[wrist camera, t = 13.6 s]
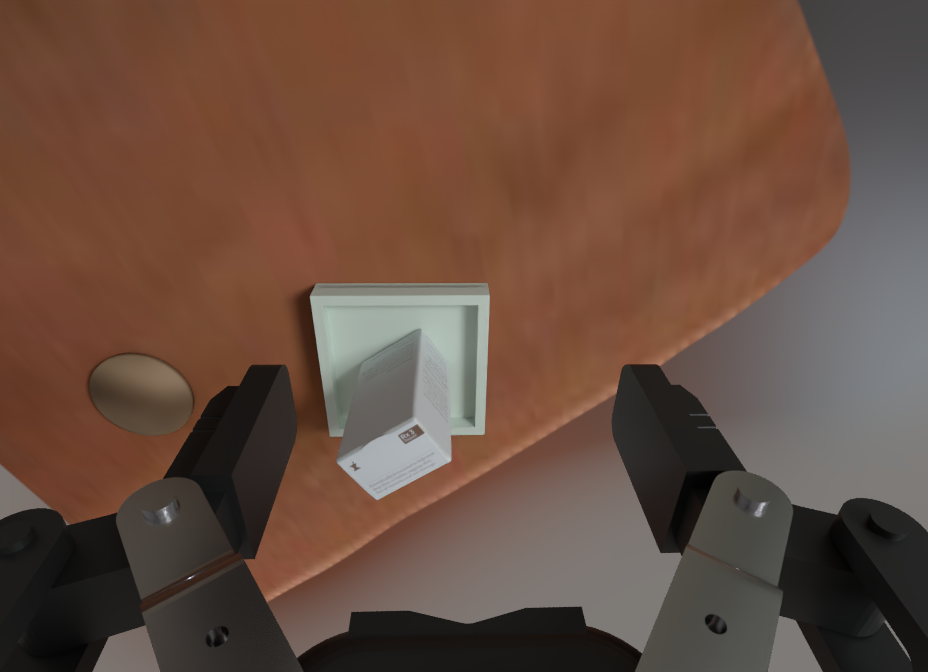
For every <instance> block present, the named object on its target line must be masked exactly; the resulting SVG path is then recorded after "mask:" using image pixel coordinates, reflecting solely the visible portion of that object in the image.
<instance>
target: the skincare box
mask: <svg viewBox="0 0 928 672" xmlns="http://www.w3.org/2000/svg"><path fill="white" fill-rule="evenodd" d="M450 461H451V423H450V376H449V364H448V363H447V361H446V360H445V359H444V357H443V356H442V354H441V353H440V352H439V350H438V349H437V348H436V347H435V345H434V344H433V343H432V341H431V340H430V339H429V338H428V336H427V335H426V334H425V332H424V331H423V330H422V329H418V330H417V331H415V332H413V333H412V334H410V335H408V336H407V337H405V338H403V339H402V340H400V341H398V342H396V343H395V344H393V345H391V346H390V347H388V348H386V349H385V350H383V351H381V352H380V353H378V354H376V355H374V356H373V357H371V358H369V359H368V360H366V361H364V362H363V363H362V364H361V368H360V371H359V375H358V379H357V383H356V387H355V390H354V394H353V398H352V402H351V406H350V410H349V414H348V418H347V421H346V425H345V429H344V433H343V436H342V440H341V444H340V448H339V452H338V456H337V460H336V462H337V463H338V464H339V465H340V466H341V467H342V468H343V469H344V470H345V471H346V472H347V473H348V474H349V475H350V476H351V477H352V478H353V479H354V480H355V481H356V482H357V483H358V484H359V485H360V486H361V487H362V488H363V489H364V490H365V491H367V492H368V493H369V494H370V495H371V496H372V497H374V498H375V499H376V500H378V499H380V498H382V497H384V496H386V495H388V494H390V493H391V492H393V491H395V490H397V489H399V488H401V487H403V486H405V485H406V484H408V483H410V482H412V481H414V480H416V479H418V478H420V477H421V476H423V475H425V474H427V473H429V472H431V471H433V470H435V469H437V468H439V467H441V466H442V465H444V464H446V463H448V462H450Z"/></svg>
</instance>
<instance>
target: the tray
mask: <svg viewBox="0 0 928 672" xmlns="http://www.w3.org/2000/svg"><path fill="white" fill-rule="evenodd" d="M310 301H311V308H312V315H313V322H314V329H315V336H316V343H317V350H318V357H319V364H320V371H321V377H322V384H323V391H324V398H325V405H326V412H327V419H328V426H329V433H330V437H333V436H343V433H344V429H345V425H346V421H347V418H348V414H349V410H350V406H351V402H352V398H353V394H354V390H355V387H356V383H357V379H358V375H359V371H360V368H361V364H362V363H363V362H364V361H366V360H368V359H369V358H371V357H373V356H374V355H376V354H378V353H380V352H381V351H383V350H385V349H386V348H388V347H390V346H391V345H393V344H395V343H396V342H398V341H400V340H402V339H403V338H405V337H407V336H408V335H410V334H412V333H413V332H415V331H417V330H418V329H422V330H423V331H424V332H425V334H426V335H427V336H428V338H429V339H430V340H431V341H432V343H433V344H434V345H435V347H436V348H437V349H438V350H439V352H440V353H441V354H442V356H443V357H444V359H445V360H446V361H447V363H448V364H449V376H450V423H451V435H484V433H485V407H486V380H487V354H488V328H489V301H490V294H489V288H488V283H343V284H316V285H315V287H314V289H313V291H312V293H311V295H310Z"/></svg>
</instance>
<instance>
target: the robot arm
mask: <svg viewBox="0 0 928 672" xmlns="http://www.w3.org/2000/svg"><path fill="white" fill-rule="evenodd" d="M707 414H708V413H707V412H706V410H705V409H704V407H703V406H702V404H701V403H700V402H699V400H698V398H696V397H695V396H694V395H693V394H691V393H690V392H688V391H687V390H686V389H685V388H683V387H682V386H681V385H671V384H670V382H669V381H668V379H667V378H666V376H665V374H664V373H663V371H662V370H661V368H660V367H659V366H658V365H656V364H627V365H624V367H623V368H622V371H621V375H620V380H619V385H618V390H617V395H616V400H615V404H614V409H613V414H612V432H613V437H614V441H615V443H616V446H617V448H618V450H619V453H620V455H621V458H622V460H623V463H624V465H625V468H626V470H627V472H628V475H629V477H630V480H631V482H632V485H633V487H634V489H635V492H636V494H637V497H638V499H639V502H640V504H641V506H642V509H643V511H644V514H645V516H646V518H647V521H648V523H649V526H650V528H651V531H652V533H653V536H654V538H655V540H656V543H657V545H658V548H659V550H660V553H681V556H682V558H681V560H680V562H679V565H678V568H677V570H676V572H675V575H674V577H673V580H672V582H671V584H670V587H669V589H668V592H667V594H666V597H665V599H664V602H663V604H662V607H661V609H660V611H659V614H658V617H657V619H656V621H655V624H654V626H653V629H652V631H651V634H650V637H649V639H648V641H647V644H646V646H645V648H644V651H643V653H641V652H639V651H638V650H637V649H635V648H634V647H632V646H631V645H629V644H628V643H626V642H624V641H623V640H621V639H619V638H617V637H615V636H613V635H611V634H609V633H607V632H604V631H601V630H599V629H596V628H593V627H588V626H586V623H585V619H584V615H583V611H582V607H552V608H551V607H548V608H524V609H521V610H517V611H514V612H510V613H507V614H504V615H500V616H497V617H494V618H490V619H486V620H483V621H479V622H476V623H471V624H464V623H459V622H455V621H451V620H446V619H442V618H437V617H433V616H429V615H425V614H420V613H416V612H412V611H380V612H379V611H376V612H352V613H351V619H350V625H349V631H348V632H345V633H341V634H339V635H336V636H334V637H331V638H329V639H326V640H324V641H323V642H321V643H319V644H317V645H315V646H314V647H312V648H311V649H309V650H308V651H306V652H305V653H303V654H302V655H300V656H299V657H298V658H296V656H295V654H294V652H293V651H292V649H291V647H290V645H289V643H288V641H287V639H286V637H285V636H284V634H283V632H282V630H281V628H280V626H279V624H278V622H277V621H276V619H275V617H274V615H273V613H272V611H271V609H270V608H269V606H268V604H267V602H266V600H265V598H264V596H263V594H262V593H261V591H260V589H259V587H258V585H257V583H256V581H255V579H254V578H253V576H252V574H251V572H250V570H249V568H248V566H247V564H246V563H245V561H244V559H255V556H256V554H257V551H258V548H259V545H260V542H261V539H262V536H263V533H264V530H265V527H266V524H267V521H268V519H269V516H270V513H271V510H272V507H273V504H274V501H275V498H276V495H277V492H278V489H279V486H280V484H281V481H282V478H283V475H284V472H285V469H286V466H287V463H288V460H289V457H290V454H291V451H292V448H293V446H294V442H295V438H296V431H297V419H296V412H295V406H294V400H293V395H292V389H291V383H290V378H289V373H288V369H287V367H286V365H251V366H250V367H249V369H248V371H247V373H246V375H245V376H244V378H243V380H242V382H241V384H240V386H227V387H226V388H225V389H224V390H222V391H221V392H220V393H219V394H217V395H216V396H215V397H213V398H212V399H211V400H210V401H209V403H208V405H207V406H206V408H205V410H204V411H203V413H202V415H201V419H199V420H198V421H197V423H196V425H195V426H194V428H193V432H191V433H190V435H189V436H188V438H187V440H186V441H185V443H184V445H183V446H182V448H181V450H180V451H179V453H178V455H177V456H176V458H175V460H174V461H173V463H172V465H171V466H170V468H169V470H168V471H167V473H166V475H165V476H164V478H163V479H161V480H158V481H155V482H152V483H150V484H148V485H146V486H144V487H142V488H140V489H139V490H137V491H136V492H134V493H133V494H132V495H130V496H129V497H128V498H127V499H126V500H125V502H124V503H123V504H122V505H121V507H120V509H119V510H118V512H117V513H114V514H111V515H107V516H103V517H99V518H95V519H91V520H87V521H83V522H79V523H75V524H71V525H66V523H65V521H64V519H63V517H62V516H61V515H60V514H59V513H58V512H57V511H54V510H51V509H46V508H41V509H40V508H37V509H30V510H25V511H21V512H18V513H15V514H12V515H10V516H8V517H5V518H3V519H1V520H0V672H92V671H93V669H94V667H95V665H96V663H97V661H98V658H99V656H100V654H101V652H102V650H103V648H104V646H105V644H106V642H107V639H108V637H110V636H112V635H116V634H119V633H122V632H125V631H129V630H131V629H135V628H138V627H141V626H144V625H146V628H147V631H148V634H149V637H150V640H151V643H152V647H153V650H154V653H155V656H156V659H157V662H158V665H159V668H160V672H768V668H769V663H770V658H771V653H772V647H773V643H774V638H775V632H776V628H777V623H778V618H779V616H783V617H787V618H790V619H794V620H796V622H797V623H798V625H799V627H800V629H801V631H802V633H803V635H804V637H805V639H806V641H807V643H808V644H809V646H810V648H811V650H812V652H813V654H814V656H815V658H816V660H817V661H818V663H819V665H820V667H821V669H822V671H823V672H928V532H927V531H926V530H925V529H924V528H923V527H922V526H921V525H920V524H919V523H918V522H917V521H915V519H913V518H912V517H910V516H909V515H908V514H906V513H904V512H902V511H901V510H899V509H897V508H895V507H893V506H891V505H889V504H886V503H883V502H880V501H877V500H873V499H867V498H855V499H850V500H848V501H846V502H845V503H844V504H843V506H842V507H841V509H840V511H839V513H838V515H835V514H831V513H827V512H822V511H818V510H814V509H809V508H805V507H800V506H797V505H793V504H791V501H790V500H789V498H788V497H787V495H786V494H785V493H784V492H783V491H782V490H781V489H780V488H779V487H778V486H776V485H775V484H773V483H772V482H771V481H769V480H767V479H765V478H763V477H761V476H759V475H756V474H753V473H750V472H747V471H746V470H745V468H744V467H743V465H742V464H741V462H740V461H739V459H738V458H737V456H736V455H735V453H734V452H733V450H732V449H731V447H730V446H729V445H728V443H727V442H726V440H725V439H724V437H723V436H722V434H721V433H720V431H719V430H718V429H716V425H715V424H714V422H713V421H712V419H711V418H710V416H708V415H707ZM885 620H887V622H888V623H889V625H890V626H891V628H892V629H893V631H894V632H895V634H896V635H897V637H898V638H899V640H900V641H901V642H902V644H903V645H904V647H905V649H906V650H907V652H908V654H909V656H910V659H911V661H910V659H909V658H908V657H907V655H906V654H905V652H904V651H903V650H902V648H901V646H900V645H899V643H898V642H897V640H896V639H895V637H894V636H893V634H892V633H891V631H890V630H889V628H888V627H887V625H886V624H885V623H884V621H885Z"/></svg>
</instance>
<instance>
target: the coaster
mask: <svg viewBox="0 0 928 672" xmlns="http://www.w3.org/2000/svg"><path fill="white" fill-rule="evenodd" d="M89 389H90V394H91V398H92V400H93V402H94V404H95V405H96V407H97V408H98V410H99V411H100V412H101V413H102V414H103V415H104V416H105V417H106V418H107V419H108V420H110V421H111V422H112V423H114V424H115V425H117V426H119V427H121V428H123V429H125V430H128V431H130V432H133V433H137V434H141V435H151V436H156V435H165V434H169V433H172V432H174V431H176V430H178V429H179V428H181V427H182V426H183V425H184V424H185V423H186V422H187V420H188V419H189V417H190V416H191V414H192V412H193V409H194V395H193V392H192V389H191V387H190V385H189V383H188V382H187V380H186V379H185V378H184V377H183V375H182V374H181V373H180V372H179V371H177V370H176V369H175V368H174V367H172V366H171V365H169V364H168V363H166V362H164V361H162V360H160V359H158V358H155V357H153V356H149V355H145V354H139V353H123V354H118V355H115V356H112V357H110V358H108V359H106V360H105V361H103V362H102V363H101V364H100V365H99V366H98V367H97V368H96V369H95V370H94V372H93V373H92V376H91V378H90V383H89Z"/></svg>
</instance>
